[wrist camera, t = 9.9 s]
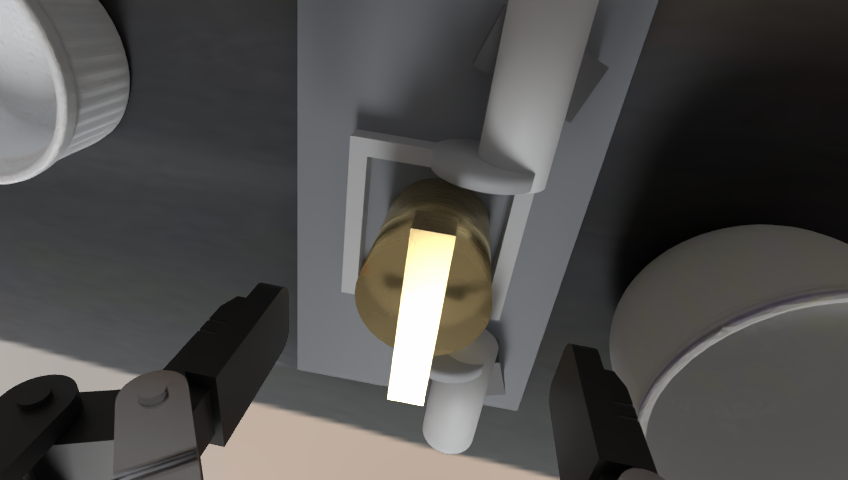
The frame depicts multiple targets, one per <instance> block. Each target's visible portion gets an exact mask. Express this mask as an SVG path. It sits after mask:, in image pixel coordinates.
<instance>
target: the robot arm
mask: <svg viewBox="0 0 848 480" xmlns="http://www.w3.org/2000/svg"><path fill="white" fill-rule="evenodd" d="M288 333H289V296H288V289H287V288H286V287H281V286H276V285H271V284H266V283H259V284H258V285H257V286H256V287H255V288H254V289H253V290H252V292H251V293H250V294H249V295H248V296H247V298H244V297H239V296H237V297H236V298H234V299H232V300H230V301H228V302H227V303H225V304H223V305H221V306H220V307H219V308H218V310H217V311H216V312H215V313H214V314H213V315H212V316H211V317H210V320H209V321H207V322H206V323H205V324H204V325H203V326H202V327H201V328H200V331H198V332H197V333H196V334H195V335H194V336H193V337H192V338H191V339H190V340H189V342H188V343H187V344H186V345H185V346H184V347H183V348H182V349H181V350H180V351H179V353H178V354H177V355H176V356H175V357H174V358H173V359H172V360H171V361H170V362H169V364H168V365H167V366H166V367H165V368H164V369H163V370H158V371H152V372H149V373H145V374H143V375H140V376H138V377H136V378H135V379H133V380H131V381H130V382H129V383H127V384H126V385H125V386H124V387H123V388H122V389H121V390H109V391H94V392H79V390H78V387H77V384H76V382H75V381H74V380H73V379H72V378H70V377H67V376H64V375H46V376H41V377H36V378H34V379H30V380H27V381H25V382H23V383H21V384H19V385H17V386H15V387H13V388H12V389H10V390H8V391H7V392H6V393H4V394H3V395H2V396H1V397H0V480H203V473H202V466H201V459H200V456H201V455H202V453H203V452H204V450H205V449H206V447H207V446H208V444H214V445H218V446H223V447H225V445H226V443H227V442H228V440H229V438H230V437H231V435H232V433H233V432H234V430H235V428H236V427H237V425H238V424H239V422H240V420H241V418H242V417H243V415H244V414H245V412H246V410H247V409H248V407H249V405H250V404H251V402H252V400H253V399H254V397H255V396H256V394H257V392H258V391H259V389H260V387H261V386H262V384H263V382H264V381H265V379H266V377H267V376H268V374H269V373H270V371H271V369H272V368H273V366H274V364H275V363H276V361H277V359H278V358H279V356H280V354H281V353H282V351H283V349H284V347H285V345H286V342H287V338H288ZM549 406H550V413H551V420H552V426H553V433H554V440H555V447H556V454H557V461H558V467H559V474H560V480H665V479H664V478H662V477H661V476H659V475H658V472H657V470H656V467H655V464H654V461H653V458H652V456H651V453H650V450H649V447H648V445H647V442H646V439H645V436H644V433H643V431H642V428H641V425H640V422H639V421H638V417H637V414H636V411H635V408H634V407H633V403H632V400H631V397H630V394H629V391H628V389H627V387H626V386H625V384H624V383H623V382H622V381H621V379H620V378H619V377H618V376H617V374H616V373H615V372H614V371H609V370H604V368H603V365H602V362H601V358H600V355H599V352H598V350H597V349H595V348H590V347H585V346H580V345H574V344H567V346H566V347H565V349H564V352H563V355H562V357H561V360H560V362H559V365H558V368H557V370H556V373H555V375H554V378H553V381H552V384H551V388H550V395H549Z"/></svg>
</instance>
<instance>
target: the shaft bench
mask: <svg viewBox="0 0 848 480" xmlns="http://www.w3.org/2000/svg"><path fill="white" fill-rule="evenodd" d="M657 3H658V0H298V370H303V371H308V372H313V373H318V374H324V375H329V376H334V377H340V378H345V379H350V380H355V381H361V382H366V383H371V384H377V385H382V386H387V387H389V383H390V375H391V368H392V361H393V353H394V348H392V347H390V346H389V345H387V344H385V343H384V342H382V341H381V340H379V339H378V338H377V337H376V336H375V335H374V334H373V333H371V332H370V330H369V329H368V328H367V327H366V326H365V324H364V322H363V321H362V319H361V317H360V315H359V313H358V310H357V307H356V302H355V287H356V282H357V279H358V276H359V274H360V272H361V270H362V267H363V265H364V263H365V261H366V259H367V257H368V254H369V252H370V250H371V248H372V246H373V244H374V241H375V239H376V237H377V235H378V233H379V230H380V228H381V226H382V224H383V222H384V220H385V217H386V215H387V213H388V211H389V209H390V206H391V204H392V202H393V201H394V199H395V198H396V196H397V195H398V194H399V193H400V192H401V191H402V190H403V189H404V188H406V187H407V186H409V185H410V184H412V183H414V182H416V181H419V180H423V179H427V178H442V179H444V180H446V181H447V182H450V183H452V184H454V185H457V186H460V187H463V188H466V189H469V190H472V191H474V192H475V193H476V194H477V195H478V197H479V198H480V199H481V200H482V202H483V203H484V205H485V207H486V210H487V212H488V216H489V222H490V248H491V279H492V312H491V317H490V319H489V322H488V324H487V326H486V328H485V330H484V331H483V332H482V334H481V335H480V336H479V337H478V338H477V339H476V340H475V341H474V342H472V343H471V344H470V345H468V346H466V347H464V348H463V349H461V350H458V351H456V352H453V353H449V354H445V355H439V356H433V357H432V362H431V368H430V373H429V378H428V383H427V388H426V393H425V394H426V397H427V400H428V403H427V408H426V413H425V418H424V423H423V434H424V437H425V439H426V441H427V442H428V443H429V444H430V445H431V446H432V447H433V448H434V449H436V450H438V451H440V452H442V453H446V454H457V453H461V452H463V451H465V450H466V449H467V448H468V447H469V446H470V445H471V443H472V440H473V437H474V433H475V430H476V427H477V423H478V420H479V416H480V413H481V409H482V406H483V405H488V406H493V407H498V408H504V409H509V410H514V411H517V410H518V407H519V404H520V401H521V398H522V395H523V392H524V389H525V387H526V384H527V381H528V378H529V375H530V372H531V369H532V366H533V363H534V360H535V358H536V355H537V352H538V349H539V346H540V343H541V340H542V337H543V334H544V331H545V328H546V326H547V323H548V320H549V317H550V314H551V311H552V308H553V305H554V302H555V299H556V297H557V294H558V291H559V288H560V285H561V282H562V279H563V276H564V273H565V270H566V267H567V265H568V262H569V259H570V256H571V253H572V250H573V247H574V244H575V241H576V238H577V236H578V233H579V230H580V227H581V224H582V221H583V218H584V215H585V212H586V209H587V207H588V204H589V201H590V198H591V195H592V192H593V189H594V186H595V183H596V180H597V177H598V175H599V172H600V169H601V166H602V163H603V160H604V157H605V154H606V151H607V148H608V146H609V143H610V140H611V137H612V134H613V131H614V128H615V125H616V122H617V119H618V116H619V114H620V111H621V108H622V105H623V102H624V99H625V96H626V93H627V90H628V87H629V85H630V82H631V79H632V76H633V73H634V70H635V67H636V64H637V61H638V58H639V55H640V53H641V50H642V47H643V44H644V41H645V38H646V35H647V32H648V29H649V26H650V24H651V21H652V18H653V15H654V12H655V9H656V6H657Z"/></svg>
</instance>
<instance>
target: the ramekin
mask: <svg viewBox="0 0 848 480" xmlns="http://www.w3.org/2000/svg"><path fill="white" fill-rule="evenodd" d="M129 88H130V76H129V67H128V62H127V58H126V54H125V50H124V47H123V44H122V41H121V39H120V36H119V34H118V32H117V30H116V28H115V26H114V23H113V21H112V20H111V18H110V17H109V15H108V13H107V12H106V10H105V8H104V7H103V6H102V4H101V3H100V2H99V0H0V184H11V183H17V182H21V181H24V180H27V179H30V178H32V177H34V176H36V175H38V174H39V173H41V172H43V171H44V170H46V169H48V168H49V167H50V166H52V165H53V164H54V163H55V162H56V161H57V160H59V159H62V158H64V157H66V156H68V155H70V154H72V153H74V152H77V151H79V150H81V149H83V148H85V147H88V146H90V145H92V144H94V143H96V142H98V141H99V140H101V139H102V138H104V137H105V136H106V135H107V134H109V133H110V132H112V131H113V130H114V128H115V127H116V126H117V125H118V124H119V122H120V120H121V118H122V117H123V115H124V112H125V109H126V105H127V102H128V98H129Z"/></svg>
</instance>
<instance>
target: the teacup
mask: <svg viewBox="0 0 848 480" xmlns="http://www.w3.org/2000/svg"><path fill="white" fill-rule="evenodd" d="M609 345H610V359H611V364H612V369H613V371H614V372H615V373H616V374H617V376H618V377H619V378H620V379H621V381H622V382H623V383H624V384H625V386H626V387H627V389H628V391H629V394H630V397H631V400H632V403H633V407H634V408H635V411H636V414H637V417H638V421H639V422H640V425H641V428H642V431H643V433H644V436H645V439H646V442H647V445H648V447H649V450H650V453H651V456H652V458H653V461H654V464H655V467H656V470H657V472H658V475H659V476H661V477H662V478H664V479H665V480H848V244H846V243H844V242H842V241H839V240H837V239H834V238H832V237H829V236H826V235H823V234H820V233H816V232H813V231H810V230H806V229H801V228H796V227H789V226H779V225H762V224H757V225H742V226H736V227H729V228H723V229H719V230H715V231H711V232H708V233H705V234H701V235H698V236H696V237H693V238H691V239H689V240H686V241H684V242H682V243H680V244H678V245H676V246H674V247H672V248H670V249H669V250H667V251H666V252H664V253H663V254H661V255H660V256H658V257H657V258H655V259H654V260H653V261H652V262H650V263H649V264H648V265H647V266H646V267H645V268H644V269H643V270H642V271H641V272H640V273H639V274H638V275H637V276H636V277H635V278H634V279H633V281H632V282H631V283H630V285H629V286H628V287H627V288H626V290H625V292H624V294H623V295H622V297H621V299H620V301H619V303H618V305H617V308H616V310H615V313H614V316H613V319H612V325H611V330H610V342H609Z"/></svg>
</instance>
